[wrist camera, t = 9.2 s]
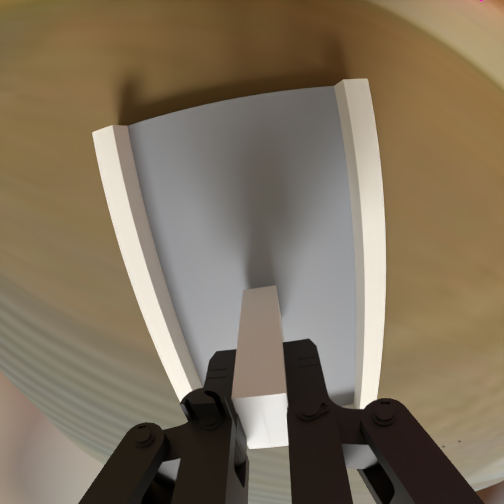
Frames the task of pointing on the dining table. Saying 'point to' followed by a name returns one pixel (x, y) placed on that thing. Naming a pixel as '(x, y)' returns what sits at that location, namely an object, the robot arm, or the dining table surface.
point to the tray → (256, 227)
